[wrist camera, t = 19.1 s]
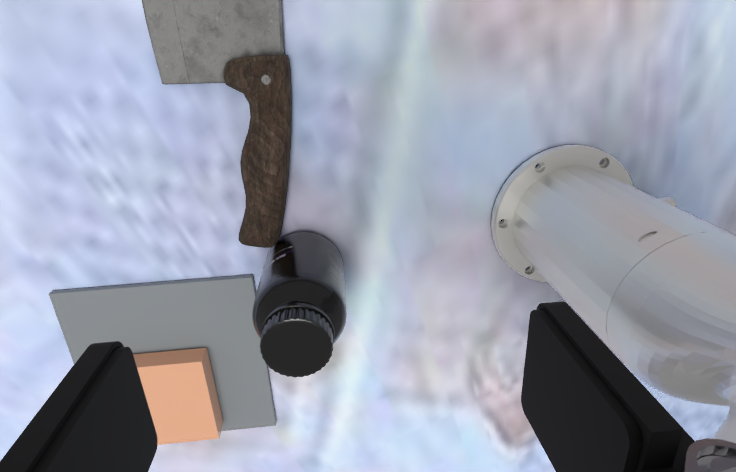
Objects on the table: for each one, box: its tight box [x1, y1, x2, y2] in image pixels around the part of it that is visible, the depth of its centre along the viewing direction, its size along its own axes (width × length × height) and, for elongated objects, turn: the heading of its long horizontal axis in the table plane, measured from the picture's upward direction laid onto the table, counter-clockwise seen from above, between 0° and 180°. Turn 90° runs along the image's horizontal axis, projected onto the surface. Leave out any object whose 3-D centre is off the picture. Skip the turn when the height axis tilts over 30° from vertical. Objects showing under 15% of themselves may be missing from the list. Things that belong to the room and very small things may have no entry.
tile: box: [133, 348, 223, 445], centre depth 43 cm, size 9×2×9 cm
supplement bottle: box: [252, 232, 346, 377], centre depth 36 cm, size 7×7×12 cm
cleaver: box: [142, 0, 292, 247], centre depth 33 cm, size 30×10×2 cm, turn 2°
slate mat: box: [49, 274, 276, 431], centre depth 43 cm, size 17×17×1 cm
